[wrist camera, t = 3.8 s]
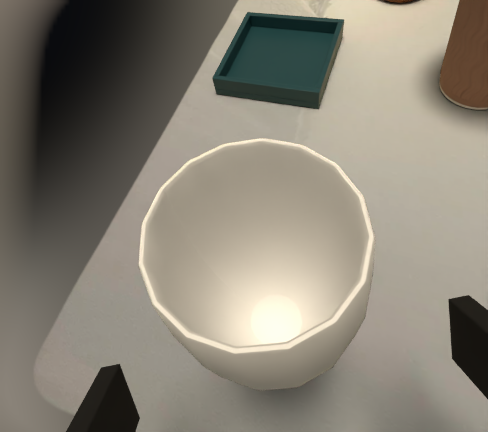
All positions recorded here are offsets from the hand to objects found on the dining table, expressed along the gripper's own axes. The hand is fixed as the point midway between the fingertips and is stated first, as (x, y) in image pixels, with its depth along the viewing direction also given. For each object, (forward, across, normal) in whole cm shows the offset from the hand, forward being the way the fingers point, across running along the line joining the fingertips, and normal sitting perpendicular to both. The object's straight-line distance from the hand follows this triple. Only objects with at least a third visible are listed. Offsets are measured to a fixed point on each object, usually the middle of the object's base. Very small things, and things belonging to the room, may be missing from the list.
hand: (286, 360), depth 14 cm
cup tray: (+34, +6, +14) cm, 37 cm away
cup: (+12, 0, -8) cm, 14 cm away
